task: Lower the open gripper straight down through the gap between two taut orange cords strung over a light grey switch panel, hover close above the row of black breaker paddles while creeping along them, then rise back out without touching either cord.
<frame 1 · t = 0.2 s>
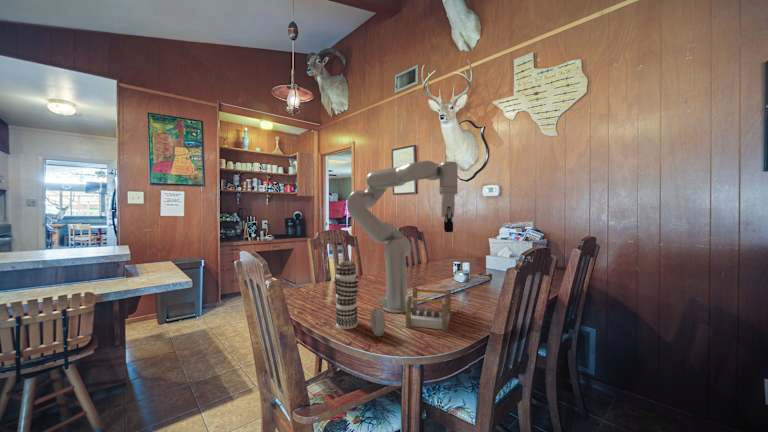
hand: (448, 231, 131), 36 cm above the table, tool pointing down, fingers open, 9 cm apart
decorative candle: (346, 325, 121), on the table
cord front: (426, 300, 116), point 11 cm above the table, slide at 0.0 cm, touching cord posts
cord posts: (429, 322, 123), on the table
cord rear: (431, 291, 128), point 11 cm above the table, slide at 0.0 cm, touching cord posts
breaker panel: (429, 322, 123), on the table
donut: (377, 336, 111), on the table
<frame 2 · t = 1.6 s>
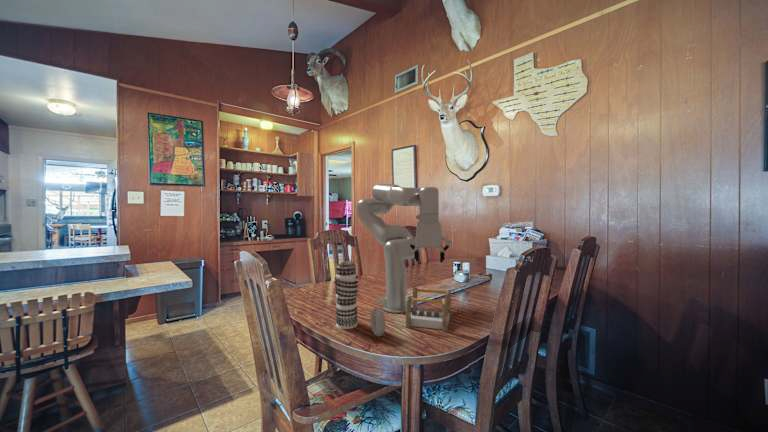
hand: (429, 261, 121), 25 cm above the table, tool pointing down, fingers open, 9 cm apart
nothing on the table moved.
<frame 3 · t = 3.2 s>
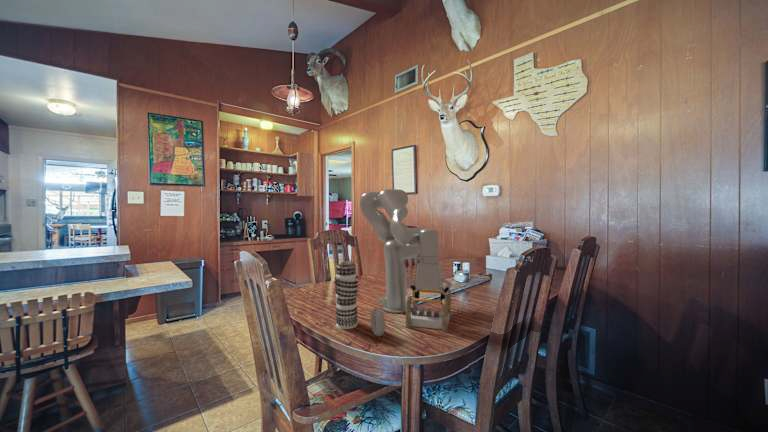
hand: (429, 302, 122), 8 cm above the table, tool pointing down, fingers open, 9 cm apart
nothing on the table moved.
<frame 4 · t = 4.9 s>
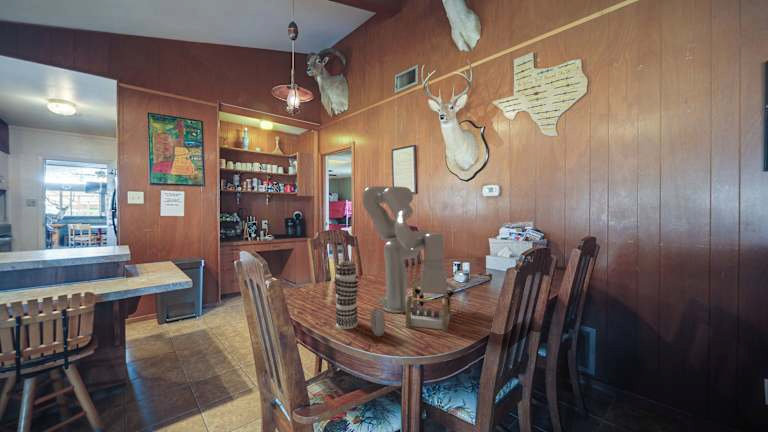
hand: (434, 306, 122), 7 cm above the table, tool pointing down, fingers open, 9 cm apart
nothing on the table moved.
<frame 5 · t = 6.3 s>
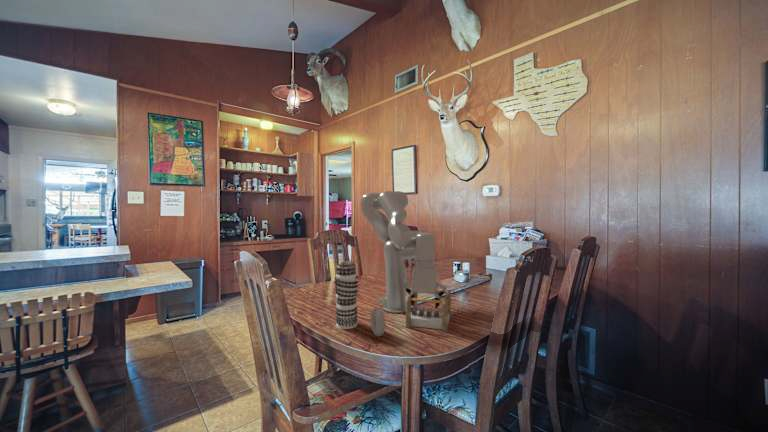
hand: (424, 306, 123), 7 cm above the table, tool pointing down, fingers open, 9 cm apart
nothing on the table moved.
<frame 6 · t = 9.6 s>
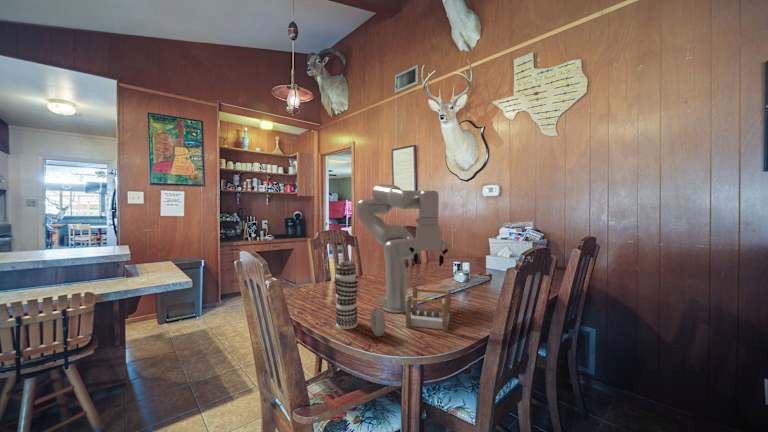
hand: (428, 264, 122), 23 cm above the table, tool pointing down, fingers open, 9 cm apart
nothing on the table moved.
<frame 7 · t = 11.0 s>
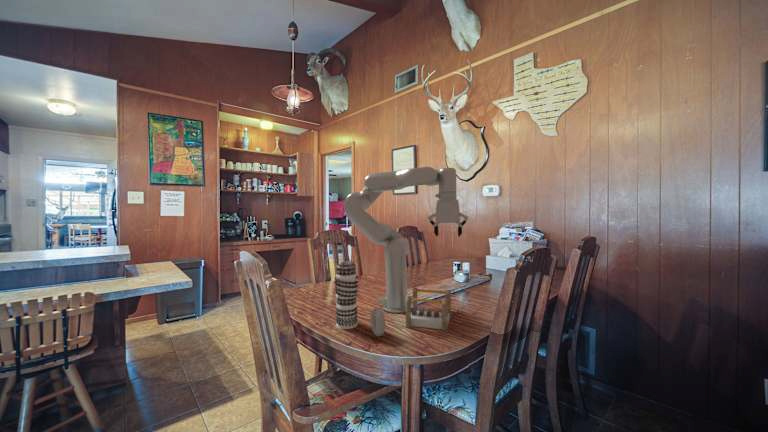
hand: (448, 235, 133), 34 cm above the table, tool pointing down, fingers open, 9 cm apart
nothing on the table moved.
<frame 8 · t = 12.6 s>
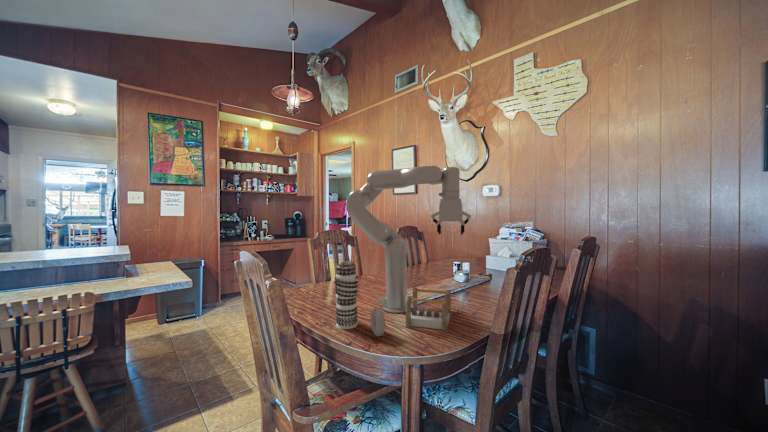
hand: (450, 234, 136), 34 cm above the table, tool pointing down, fingers open, 9 cm apart
nothing on the table moved.
at the end: cord front slide at 0.0 cm; cord rear slide at 0.0 cm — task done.
